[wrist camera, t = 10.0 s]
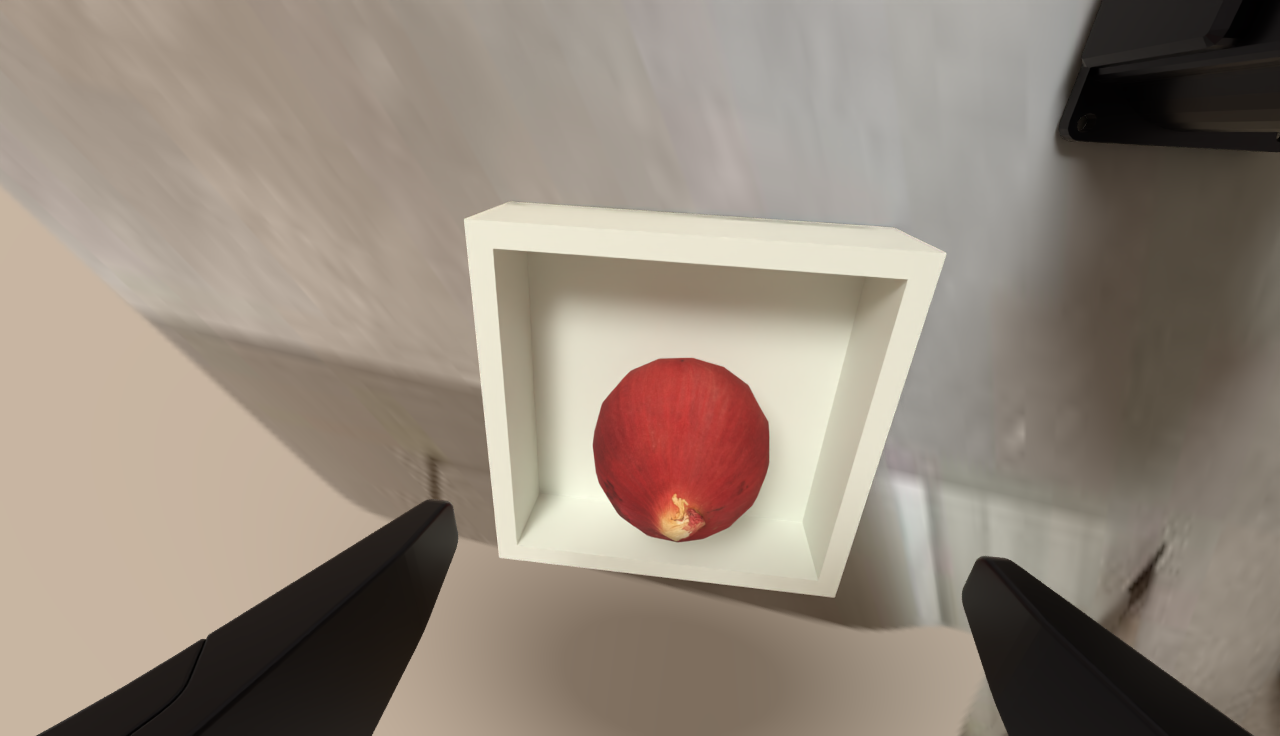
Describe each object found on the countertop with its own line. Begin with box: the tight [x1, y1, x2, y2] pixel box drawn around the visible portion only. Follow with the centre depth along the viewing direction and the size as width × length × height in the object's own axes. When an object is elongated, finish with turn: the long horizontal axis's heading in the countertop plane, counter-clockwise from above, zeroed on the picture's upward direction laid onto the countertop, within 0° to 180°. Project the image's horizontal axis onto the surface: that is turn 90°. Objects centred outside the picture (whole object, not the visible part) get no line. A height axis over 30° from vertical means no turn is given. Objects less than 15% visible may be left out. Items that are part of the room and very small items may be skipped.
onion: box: [593, 358, 770, 542], centre depth 16 cm, size 6×6×8 cm
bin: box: [464, 201, 947, 598], centre depth 19 cm, size 14×14×4 cm
